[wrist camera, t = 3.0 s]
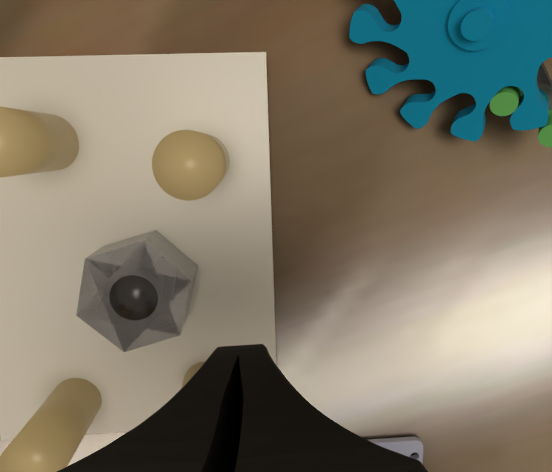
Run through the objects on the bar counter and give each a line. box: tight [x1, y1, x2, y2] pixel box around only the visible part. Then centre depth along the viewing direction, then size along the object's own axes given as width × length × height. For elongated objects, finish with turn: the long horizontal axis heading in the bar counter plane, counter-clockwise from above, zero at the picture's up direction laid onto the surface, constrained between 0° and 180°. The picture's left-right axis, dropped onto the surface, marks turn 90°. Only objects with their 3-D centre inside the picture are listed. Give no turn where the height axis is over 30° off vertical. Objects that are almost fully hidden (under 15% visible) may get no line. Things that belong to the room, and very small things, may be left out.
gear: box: [349, 0, 552, 147], centre depth 17 cm, size 11×6×10 cm
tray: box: [0, 52, 276, 472], centre depth 18 cm, size 18×20×6 cm
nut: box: [76, 230, 198, 352], centre depth 19 cm, size 4×5×2 cm
